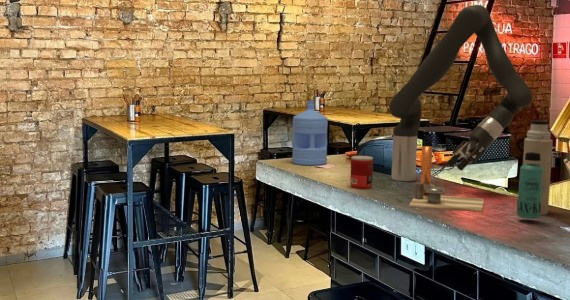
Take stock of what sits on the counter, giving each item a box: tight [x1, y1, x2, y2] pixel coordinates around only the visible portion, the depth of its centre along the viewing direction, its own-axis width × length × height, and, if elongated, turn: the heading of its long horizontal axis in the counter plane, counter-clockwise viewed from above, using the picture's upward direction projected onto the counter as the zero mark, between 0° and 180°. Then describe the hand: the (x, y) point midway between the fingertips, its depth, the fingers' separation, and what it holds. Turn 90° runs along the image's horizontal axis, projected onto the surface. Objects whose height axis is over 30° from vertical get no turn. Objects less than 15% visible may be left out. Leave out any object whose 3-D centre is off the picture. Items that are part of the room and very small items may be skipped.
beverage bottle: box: [516, 152, 544, 220], centre depth 184 cm, size 6×7×20 cm
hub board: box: [408, 182, 485, 213], centre depth 209 cm, size 18×22×6 cm
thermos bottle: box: [522, 120, 553, 216], centre depth 196 cm, size 8×8×28 cm
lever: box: [419, 145, 445, 195], centre depth 212 cm, size 17×6×16 cm, turn 1°
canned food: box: [349, 155, 374, 190], centre depth 235 cm, size 8×8×11 cm
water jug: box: [291, 100, 329, 167], centre depth 290 cm, size 16×16×28 cm
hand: (453, 167), depth 221 cm, fingers open, 8 cm apart
